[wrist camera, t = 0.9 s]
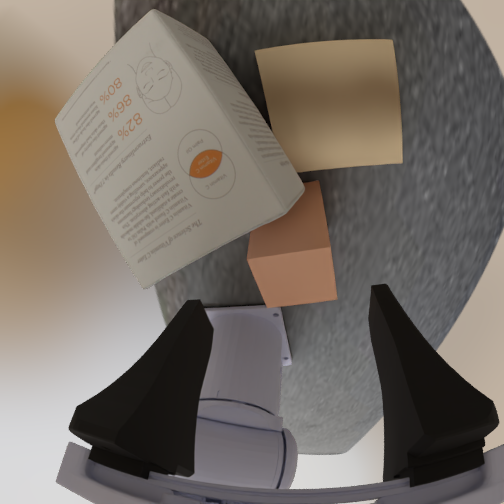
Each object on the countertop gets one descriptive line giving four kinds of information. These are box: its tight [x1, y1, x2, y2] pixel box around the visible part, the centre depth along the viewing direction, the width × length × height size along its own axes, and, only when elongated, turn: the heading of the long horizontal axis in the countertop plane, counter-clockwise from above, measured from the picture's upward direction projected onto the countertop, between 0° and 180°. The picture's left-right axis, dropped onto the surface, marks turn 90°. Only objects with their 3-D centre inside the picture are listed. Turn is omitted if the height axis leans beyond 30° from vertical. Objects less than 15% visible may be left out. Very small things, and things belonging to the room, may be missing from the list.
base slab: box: [255, 39, 402, 173], centre depth 14 cm, size 7×7×2 cm
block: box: [247, 181, 337, 308], centre depth 17 cm, size 4×4×6 cm
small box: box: [55, 9, 305, 289], centre depth 13 cm, size 8×6×10 cm
